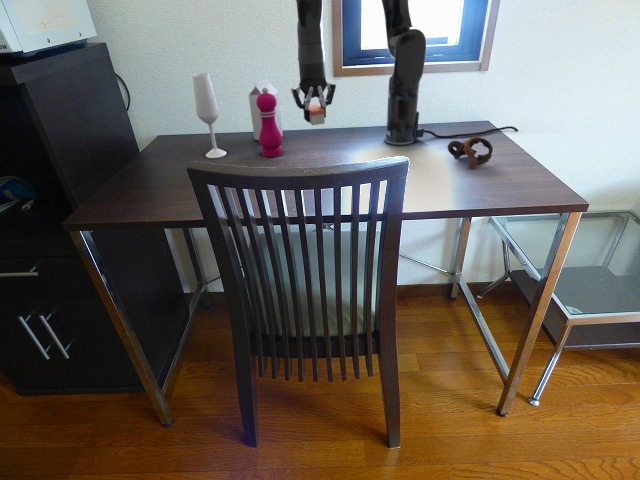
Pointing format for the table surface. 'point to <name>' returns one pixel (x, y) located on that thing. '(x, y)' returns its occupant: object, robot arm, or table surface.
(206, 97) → the champagne flute
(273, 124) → the pepper mill
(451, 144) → the brown looped ring
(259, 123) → the milk carton
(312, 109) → the sushi
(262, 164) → the table surface
